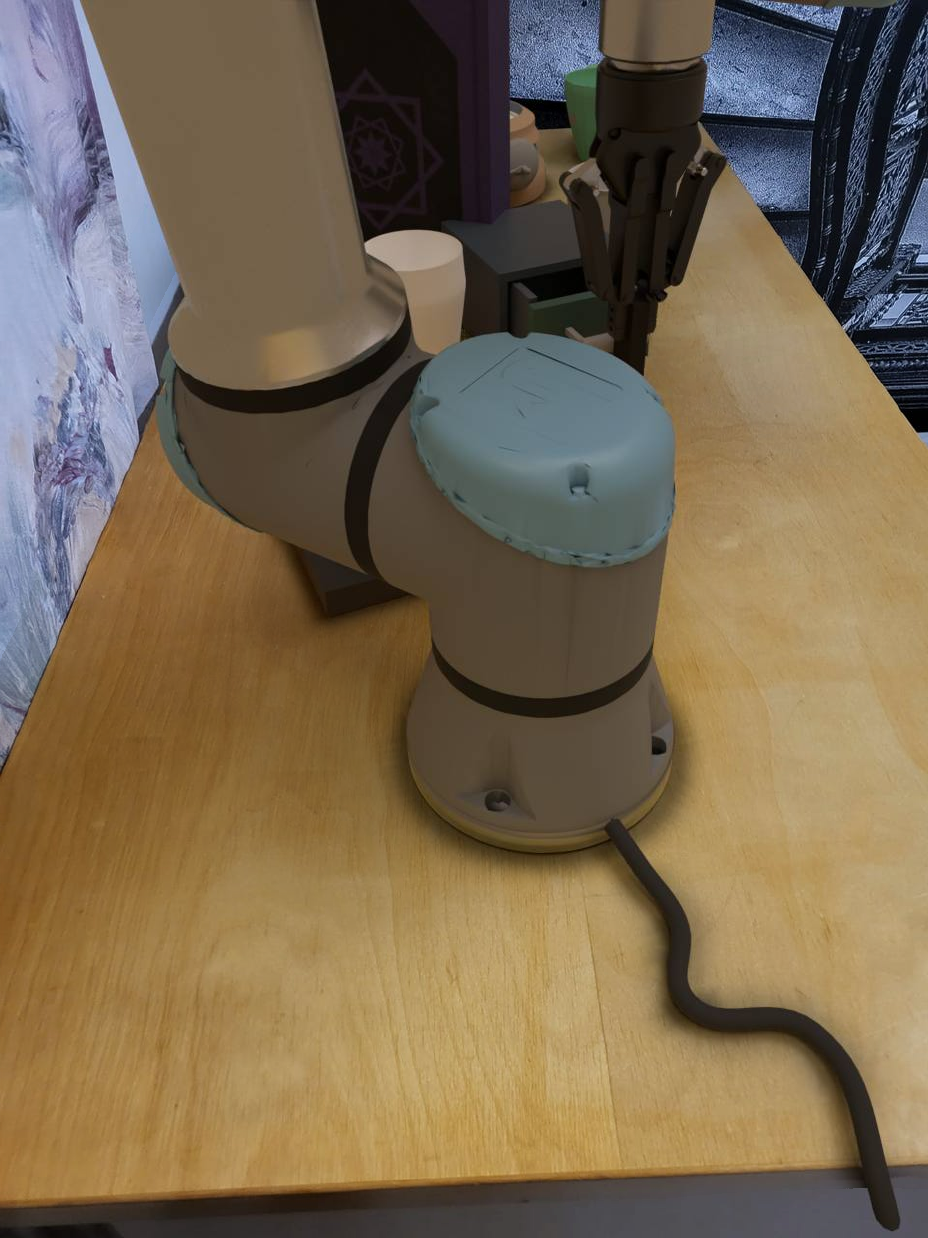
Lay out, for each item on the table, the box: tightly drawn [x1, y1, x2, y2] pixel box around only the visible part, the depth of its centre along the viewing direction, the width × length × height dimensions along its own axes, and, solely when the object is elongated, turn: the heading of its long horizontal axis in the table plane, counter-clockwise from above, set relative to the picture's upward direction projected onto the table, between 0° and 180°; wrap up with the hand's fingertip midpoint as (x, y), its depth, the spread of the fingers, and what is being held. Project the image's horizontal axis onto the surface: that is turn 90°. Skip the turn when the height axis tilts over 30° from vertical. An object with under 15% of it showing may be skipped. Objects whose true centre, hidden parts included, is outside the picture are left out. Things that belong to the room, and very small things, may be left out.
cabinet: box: [441, 199, 609, 338], centre depth 97 cm, size 14×13×9 cm
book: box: [316, 0, 511, 243], centre depth 97 cm, size 24×6×30 cm, turn 69°
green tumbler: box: [563, 64, 598, 163], centre depth 134 cm, size 15×10×10 cm
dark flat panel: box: [294, 545, 411, 618], centre depth 72 cm, size 12×10×4 cm
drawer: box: [508, 266, 651, 358], centre depth 91 cm, size 17×12×7 cm
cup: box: [364, 230, 466, 355], centre depth 88 cm, size 9×9×12 cm
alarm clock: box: [510, 99, 547, 209], centre depth 123 cm, size 17×9×23 cm
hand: (627, 370), depth 84 cm, fingers closed
